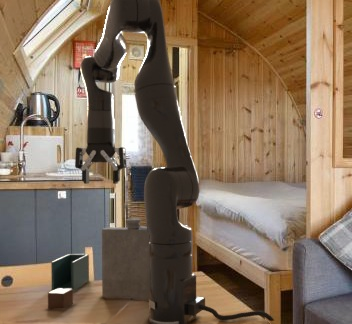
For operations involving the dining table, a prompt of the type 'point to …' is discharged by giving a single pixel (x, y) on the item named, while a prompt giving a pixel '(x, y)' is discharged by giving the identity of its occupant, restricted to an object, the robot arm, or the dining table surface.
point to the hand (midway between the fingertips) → (101, 183)
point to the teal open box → (70, 271)
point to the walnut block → (60, 298)
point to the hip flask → (126, 261)
